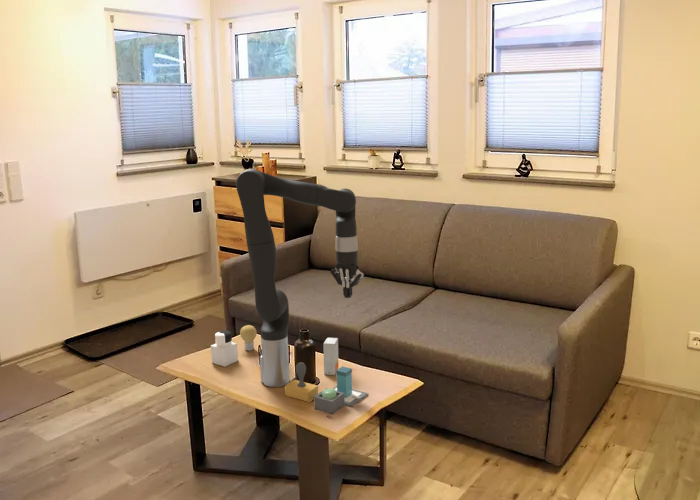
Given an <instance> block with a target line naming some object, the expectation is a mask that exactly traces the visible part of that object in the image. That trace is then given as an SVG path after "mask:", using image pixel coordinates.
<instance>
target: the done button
mask: <svg viewBox="0 0 700 500" xmlns="http://www.w3.org/2000/svg"><path fill="white" fill-rule="evenodd" d="M324 389H325V390H324ZM324 389H323V390H321V392H322V397H323V398H326V399H330V400H332V399H333V398H335V397H336V390H334V389H333V388H328V389H326V388H324Z"/></svg>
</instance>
